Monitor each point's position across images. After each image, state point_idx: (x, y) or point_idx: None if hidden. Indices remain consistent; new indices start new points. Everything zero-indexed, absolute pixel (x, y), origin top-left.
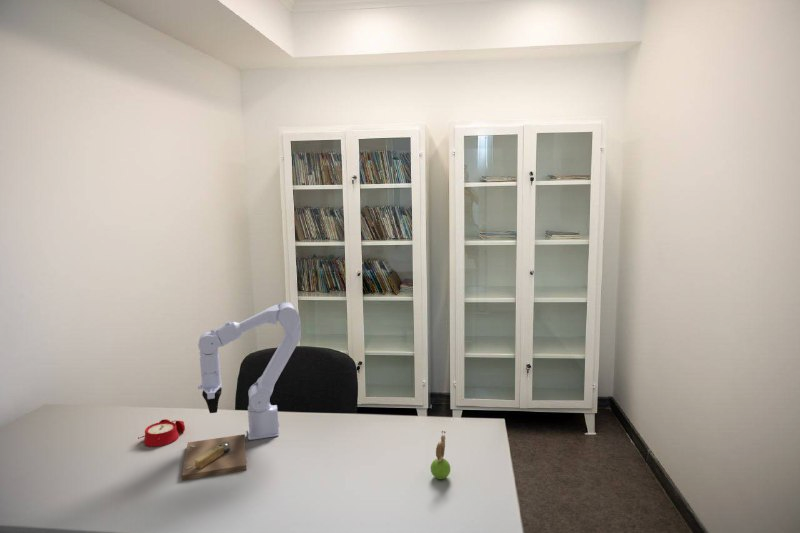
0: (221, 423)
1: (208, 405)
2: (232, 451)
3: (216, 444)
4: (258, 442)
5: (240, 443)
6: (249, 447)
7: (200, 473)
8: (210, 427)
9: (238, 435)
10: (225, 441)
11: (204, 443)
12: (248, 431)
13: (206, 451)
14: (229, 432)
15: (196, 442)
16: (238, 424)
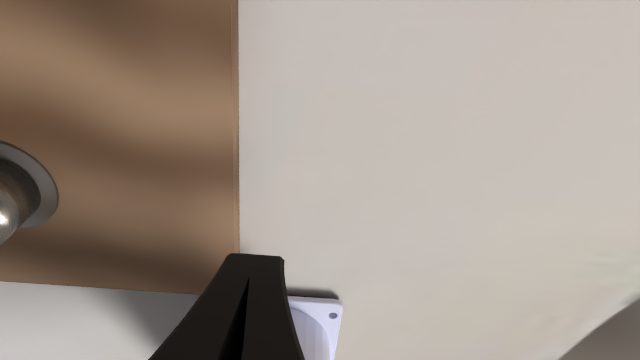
0: (532, 184)
1: (165, 347)
2: None
3: (128, 146)
4: (173, 319)
5: (113, 269)
6: None
7: None
8: (516, 113)
9: None
10: (9, 229)
11: (168, 66)
12: (300, 304)
13: (22, 74)
14: (362, 215)
15: (204, 2)
16: (448, 265)
